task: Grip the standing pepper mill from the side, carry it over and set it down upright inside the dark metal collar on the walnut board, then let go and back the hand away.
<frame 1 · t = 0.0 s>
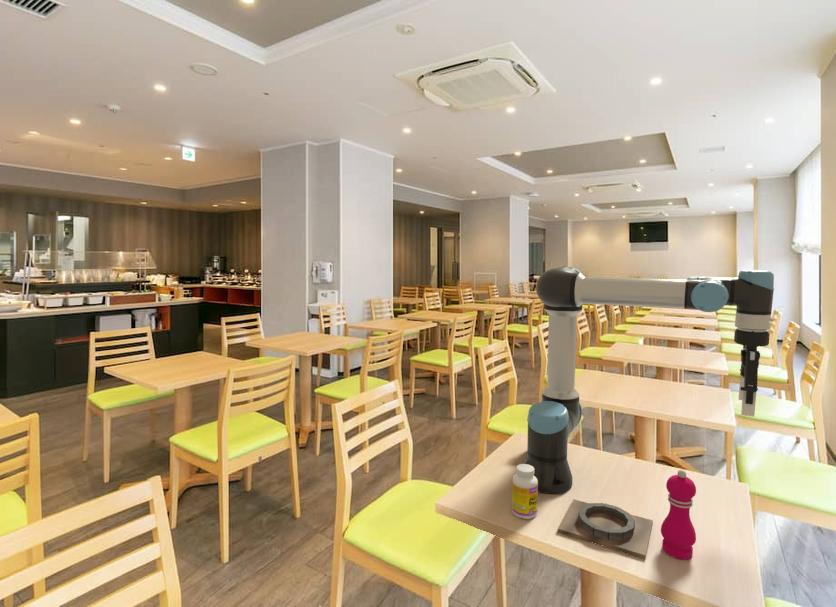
hand: (745, 407, 125), 28 cm above the table, tool pointing down, fingers open, 13 cm apart
supplement bottle: (524, 513, 127), on the table
mill stand: (605, 528, 119), on the table
pepper mill: (677, 551, 110), on the table
soda can: (540, 451, 164), on the table
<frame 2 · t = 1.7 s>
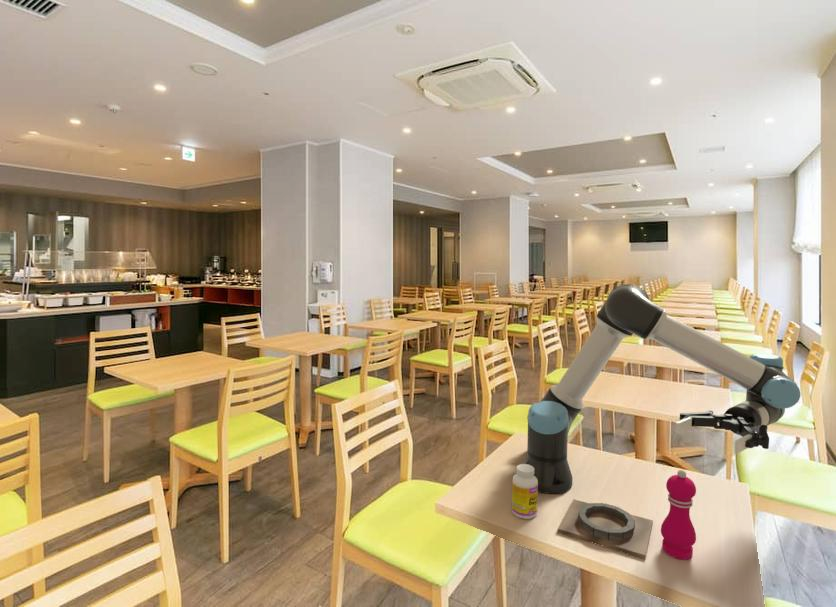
hand: (705, 437, 112), 26 cm above the table, tool horizontal, fingers open, 13 cm apart
nothing on the table moved.
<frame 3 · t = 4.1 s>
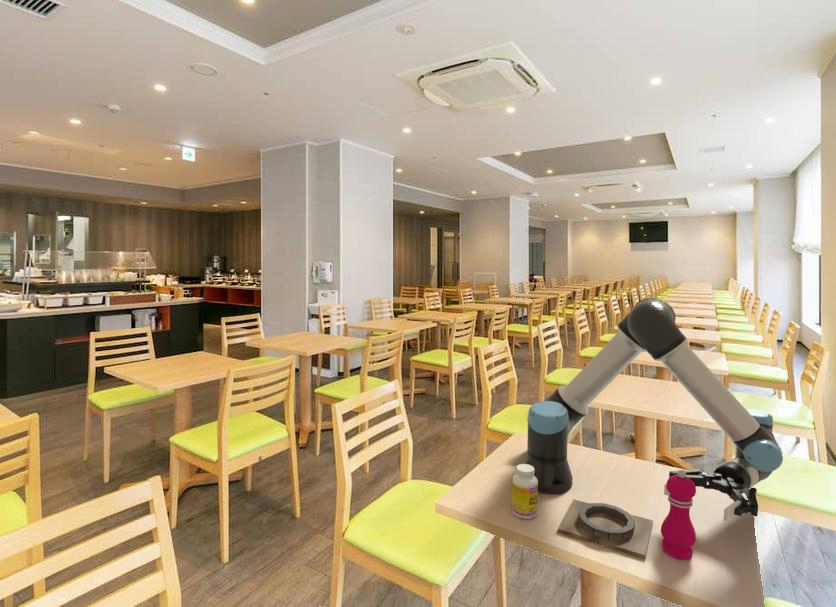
hand: (694, 502, 111), 11 cm above the table, tool horizontal, fingers open, 13 cm apart
nothing on the table moved.
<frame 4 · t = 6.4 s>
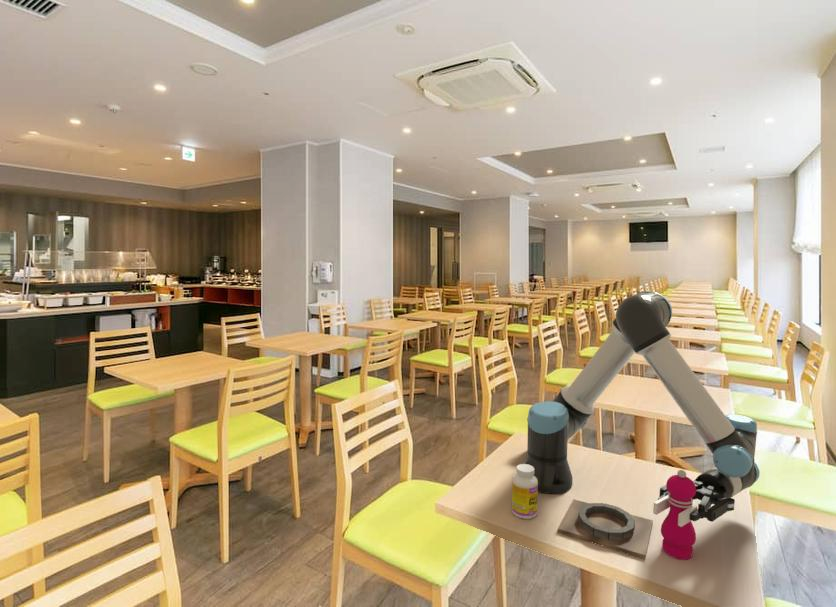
hand: (667, 514, 106), 11 cm above the table, tool horizontal, fingers closed on pepper mill, 5 cm apart
pepper mill: (677, 551, 110), on the table, touching gripper
everything else where it was.
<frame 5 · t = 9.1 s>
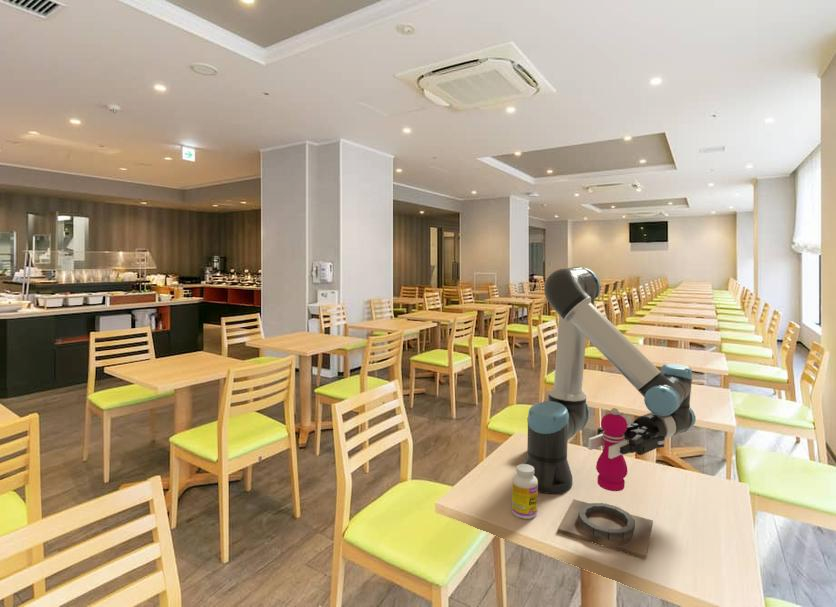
hand: (599, 448, 113), 23 cm above the table, tool horizontal, fingers closed on pepper mill, 5 cm apart
pepper mill: (610, 485, 118), point 12 cm above the table, touching gripper
everything else where it was.
when the fingers open (13 cm above the table, at t = 11.7 s): pepper mill drops 1 cm, resting on mill stand.
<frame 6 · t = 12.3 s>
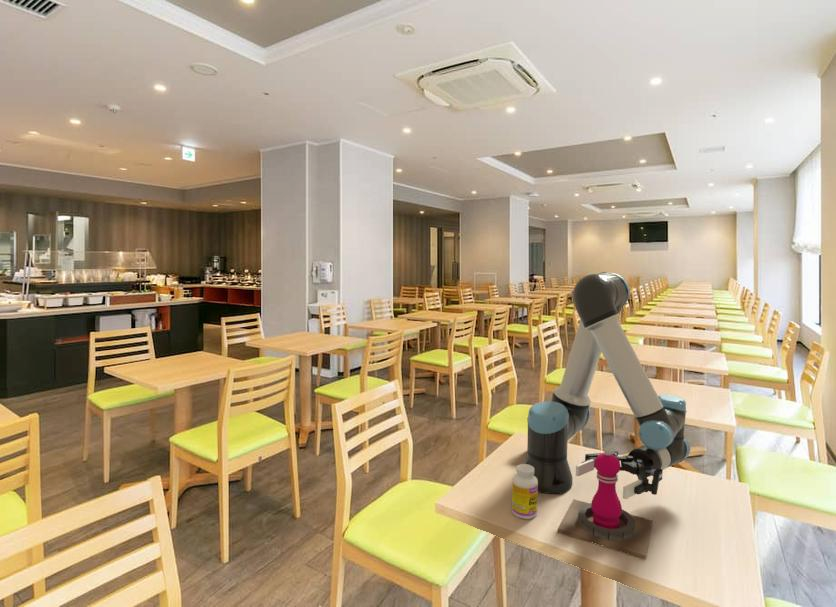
hand: (599, 481, 116), 13 cm above the table, tool horizontal, fingers open, 13 cm apart
pepper mill: (605, 524, 119), point 1 cm above the table, touching mill stand
everything else where it was.
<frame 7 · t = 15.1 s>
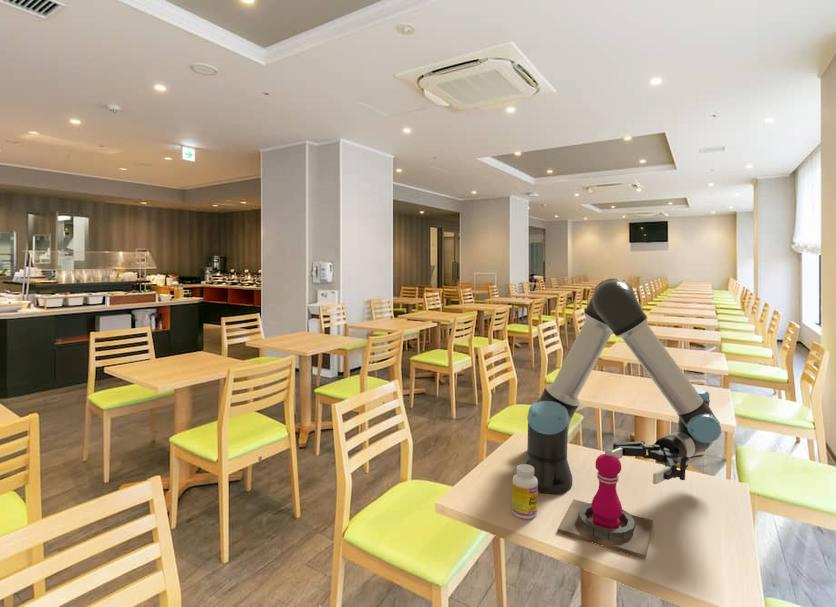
hand: (629, 468, 123), 14 cm above the table, tool horizontal, fingers open, 13 cm apart
soda can: (540, 451, 164), on the table, touching arm
everything else where it was.
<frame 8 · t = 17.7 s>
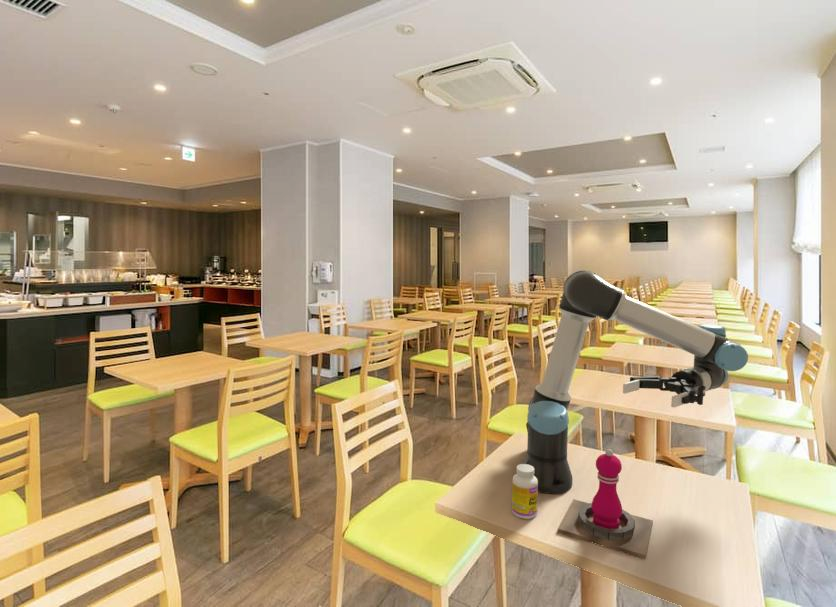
hand: (647, 395, 124), 32 cm above the table, tool horizontal, fingers open, 13 cm apart
at the end: pepper mill 0.0 cm off-centre on the mill stand, point 0.8 cm above the mill stand's base; pepper mill tilted 0°; the gripper is holding nothing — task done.
